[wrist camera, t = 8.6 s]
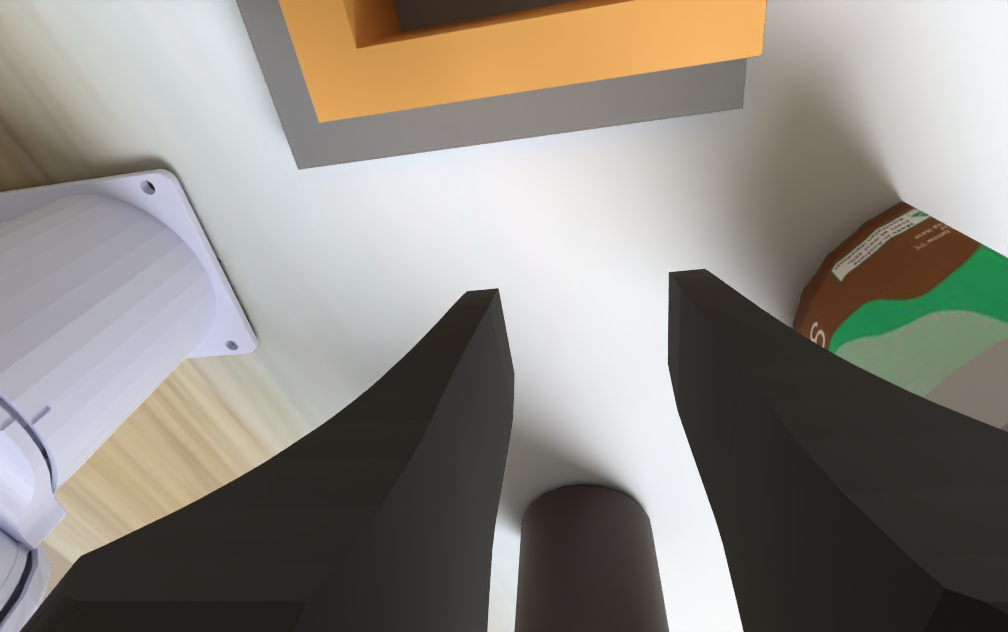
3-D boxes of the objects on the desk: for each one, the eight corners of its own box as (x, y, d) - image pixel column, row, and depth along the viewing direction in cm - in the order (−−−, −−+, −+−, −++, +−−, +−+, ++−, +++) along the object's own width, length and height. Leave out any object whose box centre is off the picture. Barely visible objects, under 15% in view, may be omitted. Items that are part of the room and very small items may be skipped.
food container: (705, 259, 19) (821, 481, 11) (889, 164, 17) (1218, 352, 8) (822, 461, 24) (963, 721, 16) (976, 409, 22) (1238, 681, 13)
